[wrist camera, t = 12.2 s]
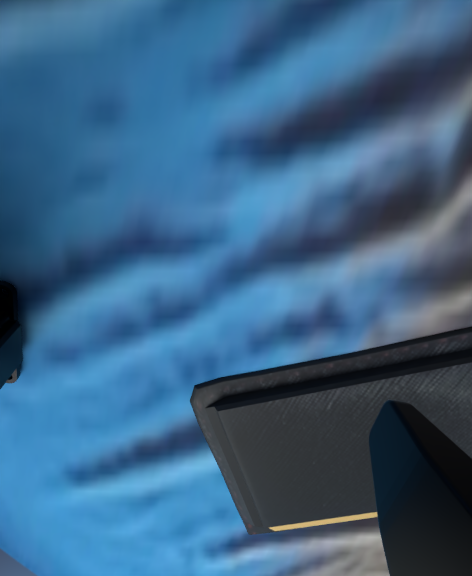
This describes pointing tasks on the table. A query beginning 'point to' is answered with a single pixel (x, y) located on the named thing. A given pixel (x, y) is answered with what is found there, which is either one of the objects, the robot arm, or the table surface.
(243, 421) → the dark grey flat block
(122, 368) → the table surface
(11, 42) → the table surface
